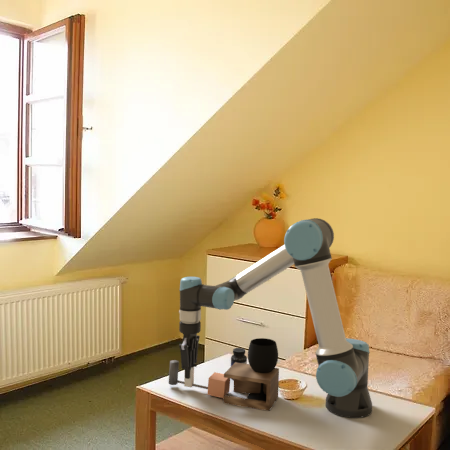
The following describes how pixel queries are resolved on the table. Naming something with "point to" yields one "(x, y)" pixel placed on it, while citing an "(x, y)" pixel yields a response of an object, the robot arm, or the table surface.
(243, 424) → the table surface
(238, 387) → the shelf
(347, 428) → the table surface
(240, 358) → the pill bottle
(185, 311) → the robot arm
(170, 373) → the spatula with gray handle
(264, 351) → the black goblet
